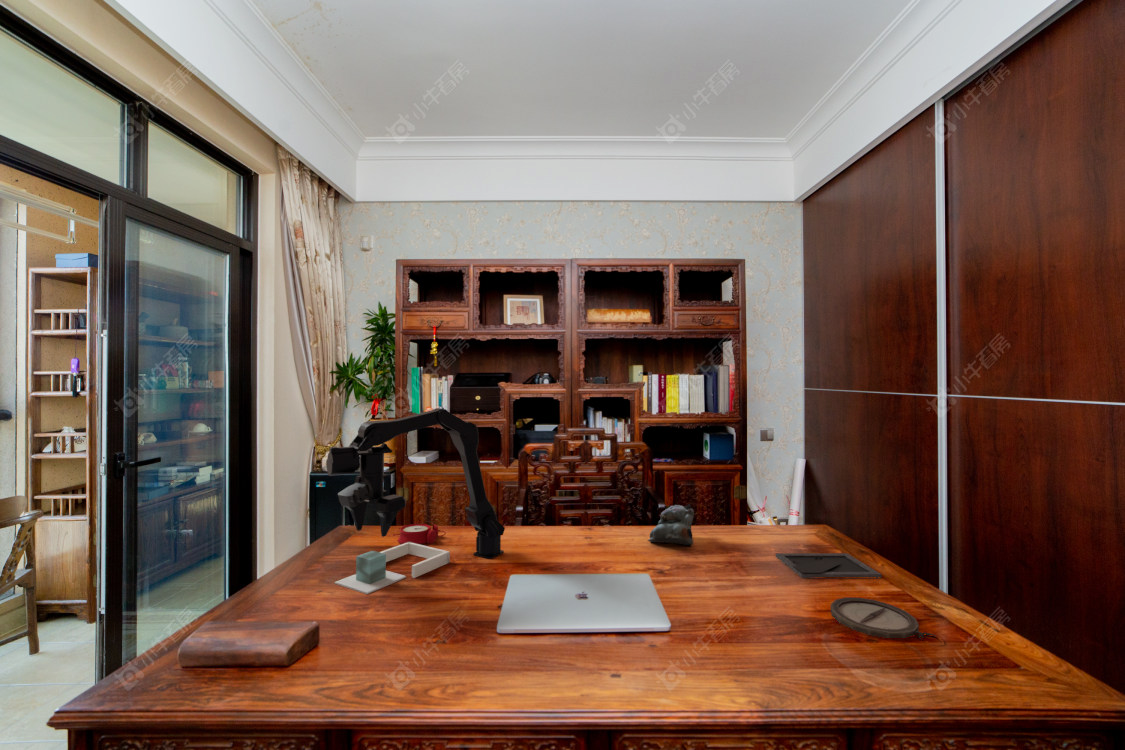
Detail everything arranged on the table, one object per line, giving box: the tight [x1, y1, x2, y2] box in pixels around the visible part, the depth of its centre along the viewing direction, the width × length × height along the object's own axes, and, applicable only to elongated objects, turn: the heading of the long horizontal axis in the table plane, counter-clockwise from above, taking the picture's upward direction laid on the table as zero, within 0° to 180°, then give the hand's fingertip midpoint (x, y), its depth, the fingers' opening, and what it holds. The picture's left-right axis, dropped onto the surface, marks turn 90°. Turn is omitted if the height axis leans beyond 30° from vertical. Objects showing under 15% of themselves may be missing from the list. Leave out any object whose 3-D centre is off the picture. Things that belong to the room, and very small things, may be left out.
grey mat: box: [334, 569, 407, 595], centre depth 133 cm, size 12×12×1 cm
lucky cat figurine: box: [647, 504, 695, 548], centre depth 165 cm, size 15×12×14 cm
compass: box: [830, 597, 939, 639], centre depth 112 cm, size 20×16×2 cm
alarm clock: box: [392, 523, 447, 545], centre depth 165 cm, size 10×6×15 cm
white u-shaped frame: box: [379, 542, 451, 579], centre depth 144 cm, size 16×13×3 cm
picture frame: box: [775, 552, 882, 579], centre depth 145 cm, size 16×2×21 cm
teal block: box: [355, 550, 387, 584], centre depth 133 cm, size 5×5×6 cm
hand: (371, 533), depth 133 cm, fingers open, 9 cm apart
